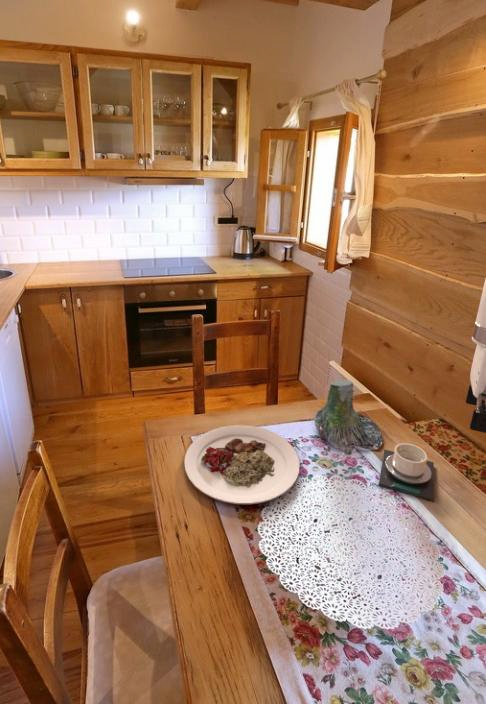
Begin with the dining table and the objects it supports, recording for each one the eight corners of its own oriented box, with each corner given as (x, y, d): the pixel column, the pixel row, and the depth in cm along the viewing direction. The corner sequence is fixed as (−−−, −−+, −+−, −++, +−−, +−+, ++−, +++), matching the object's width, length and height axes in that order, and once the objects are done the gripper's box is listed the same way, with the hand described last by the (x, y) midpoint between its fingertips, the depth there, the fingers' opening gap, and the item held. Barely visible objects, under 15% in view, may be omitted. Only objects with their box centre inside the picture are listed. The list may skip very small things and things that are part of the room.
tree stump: (346, 465, 108) (339, 401, 105) (302, 438, 126) (295, 383, 123) (397, 443, 114) (392, 383, 112) (349, 421, 133) (343, 368, 130)
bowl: (424, 462, 103) (427, 448, 101) (423, 481, 96) (427, 466, 95) (393, 454, 106) (395, 440, 104) (391, 471, 99) (393, 457, 98)
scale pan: (430, 465, 104) (431, 460, 103) (430, 493, 95) (431, 487, 94) (386, 453, 108) (387, 449, 107) (383, 479, 99) (384, 474, 99)
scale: (432, 468, 106) (433, 461, 105) (432, 506, 94) (434, 498, 93) (383, 455, 111) (384, 448, 110) (377, 489, 99) (379, 482, 98)
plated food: (320, 493, 98) (322, 482, 96) (199, 522, 90) (199, 510, 89) (271, 423, 125) (271, 413, 123) (175, 440, 117) (174, 430, 116)
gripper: (533, 358, 64) (507, 448, 70) (514, 323, 78) (493, 399, 84) (478, 350, 67) (457, 436, 73) (469, 317, 81) (452, 391, 87)
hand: (476, 416), depth 79 cm, fingers open, 9 cm apart
